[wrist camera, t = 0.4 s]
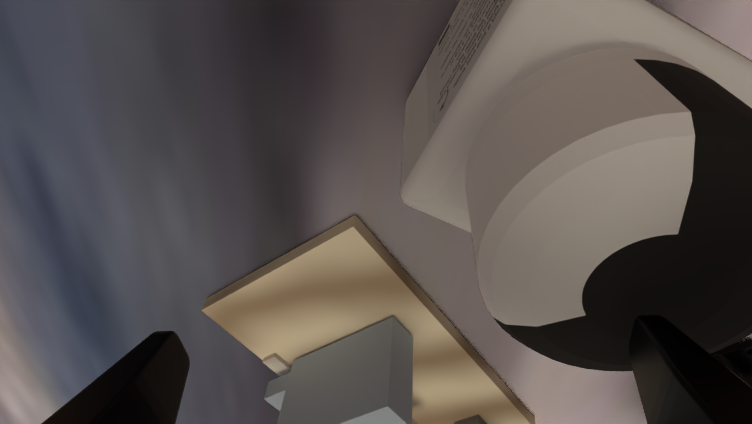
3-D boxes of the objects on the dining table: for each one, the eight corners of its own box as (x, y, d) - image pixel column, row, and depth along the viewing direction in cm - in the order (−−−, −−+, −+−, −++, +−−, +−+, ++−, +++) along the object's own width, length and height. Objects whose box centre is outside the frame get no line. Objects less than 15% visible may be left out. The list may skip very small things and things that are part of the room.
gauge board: (534, 416, 33) (553, 511, 29) (399, 458, 38) (396, 547, 33) (355, 214, 25) (339, 300, 20) (207, 297, 29) (164, 385, 24)
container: (679, 17, 19) (1025, 222, 8) (552, 175, 23) (667, 446, 12) (502, -84, 17) (636, 0, 6) (402, 104, 21) (384, 342, 11)
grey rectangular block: (465, 392, 30) (473, 483, 26) (346, 433, 34) (334, 519, 30) (393, 316, 27) (387, 406, 23) (269, 371, 31) (243, 458, 26)
